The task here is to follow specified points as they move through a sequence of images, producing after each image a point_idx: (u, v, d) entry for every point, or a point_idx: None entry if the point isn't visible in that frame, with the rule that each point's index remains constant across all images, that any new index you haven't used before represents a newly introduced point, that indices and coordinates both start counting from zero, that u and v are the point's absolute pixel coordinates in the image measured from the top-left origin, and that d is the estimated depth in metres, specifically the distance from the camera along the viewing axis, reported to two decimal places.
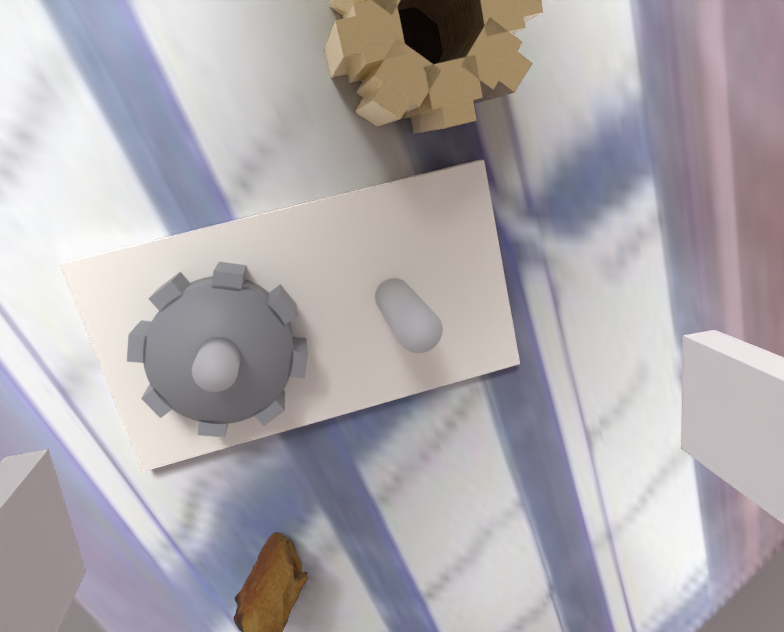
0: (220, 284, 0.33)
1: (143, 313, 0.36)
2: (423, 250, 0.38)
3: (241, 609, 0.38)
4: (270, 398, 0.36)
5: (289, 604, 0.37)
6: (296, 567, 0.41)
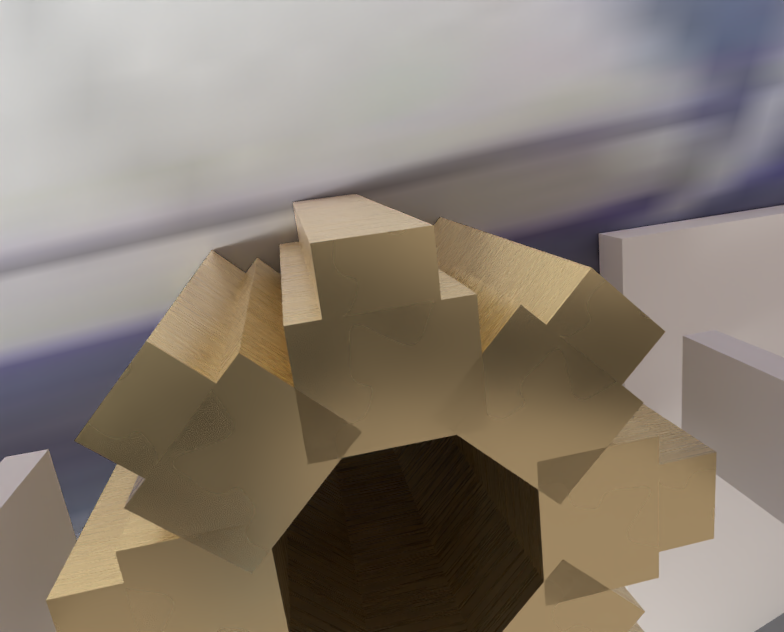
0: None
1: None
2: None
3: None
4: None
5: None
6: None
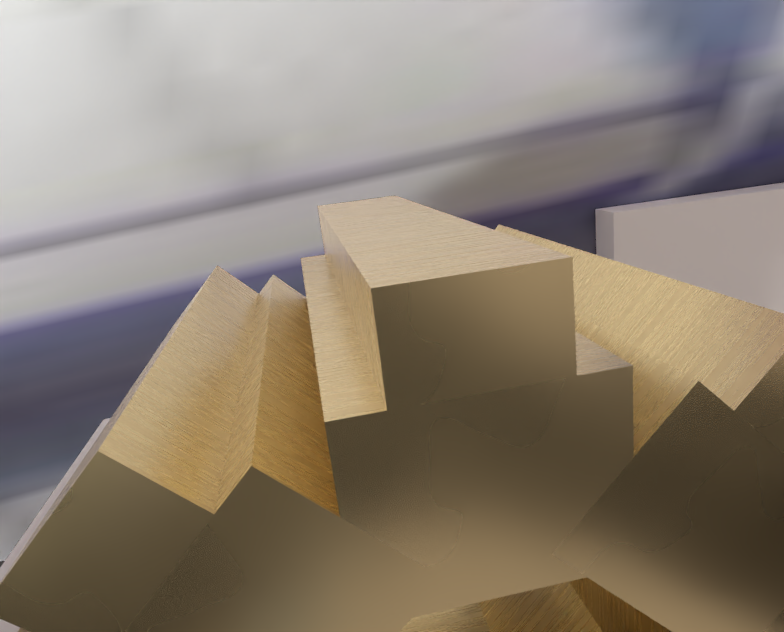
0: None
1: None
2: None
3: None
4: None
5: None
6: None
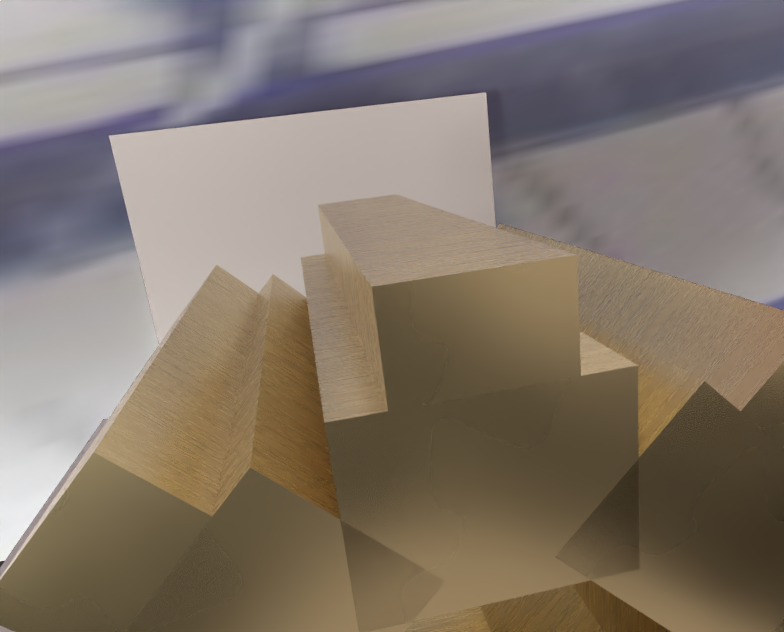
0: None
1: None
2: (263, 253, 0.23)
3: None
4: None
5: None
6: None
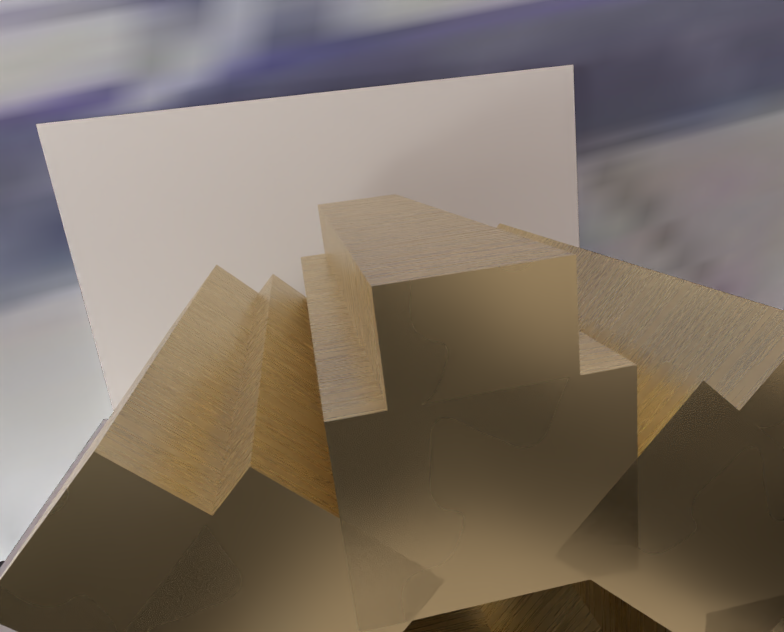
0: None
1: None
2: None
3: None
4: None
5: None
6: None
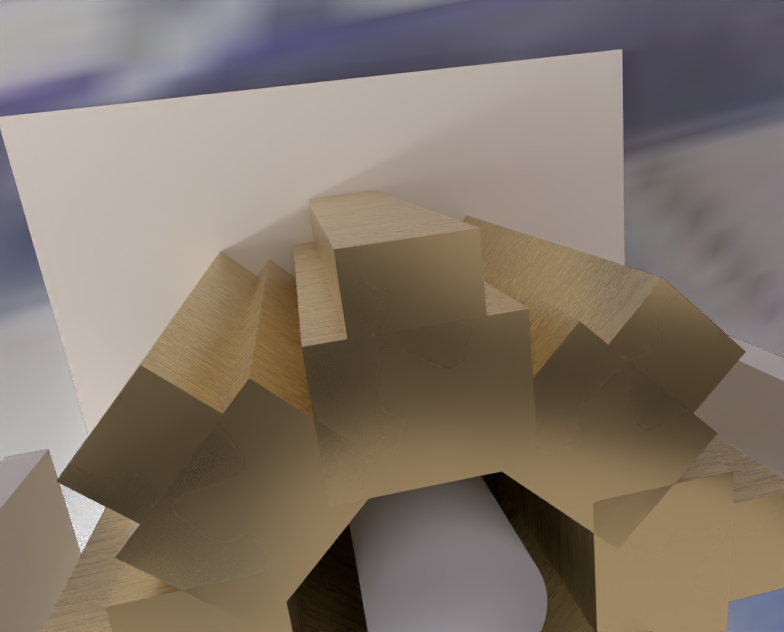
0: None
1: None
2: None
3: None
4: None
5: None
6: None
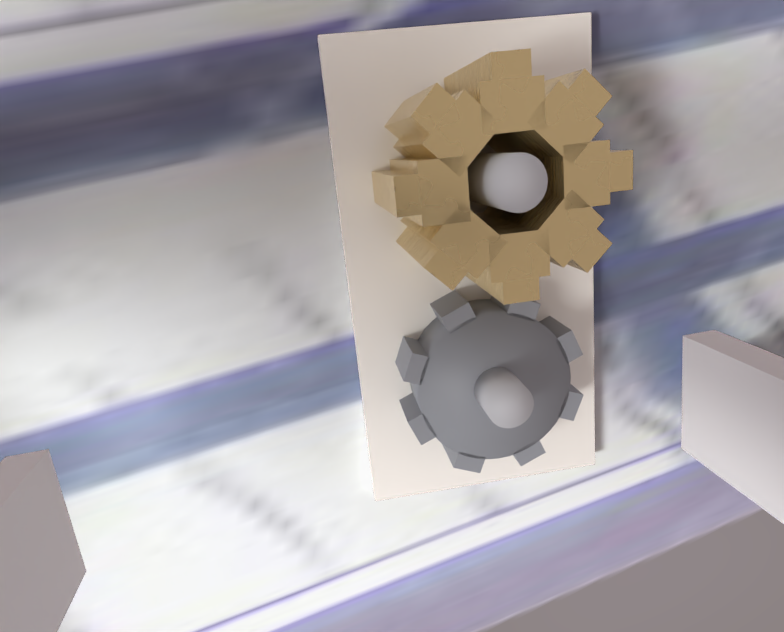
0: (419, 376, 0.31)
1: (434, 439, 0.36)
2: None
3: None
4: (554, 344, 0.32)
5: None
6: None
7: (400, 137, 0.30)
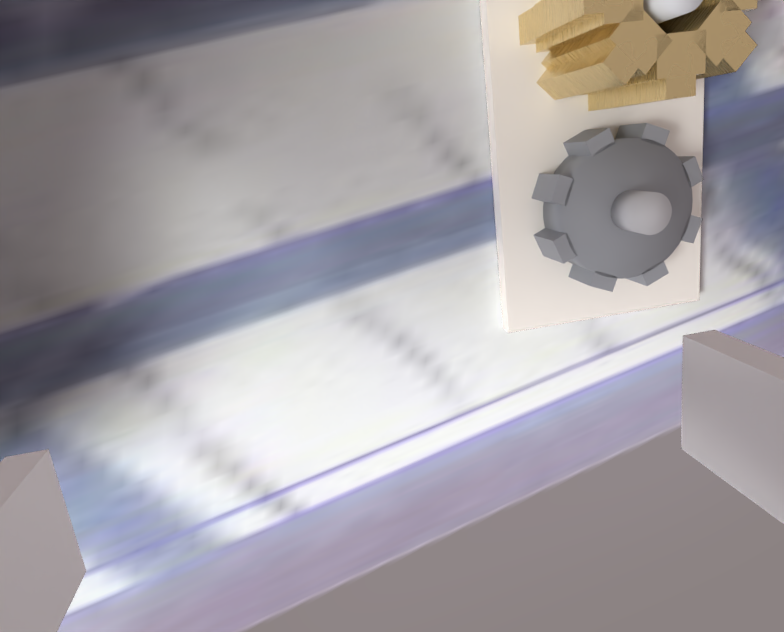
0: (564, 197, 0.35)
1: (562, 273, 0.40)
2: None
3: None
4: (680, 169, 0.36)
5: None
6: None
7: None
